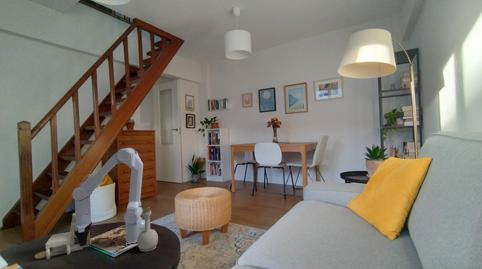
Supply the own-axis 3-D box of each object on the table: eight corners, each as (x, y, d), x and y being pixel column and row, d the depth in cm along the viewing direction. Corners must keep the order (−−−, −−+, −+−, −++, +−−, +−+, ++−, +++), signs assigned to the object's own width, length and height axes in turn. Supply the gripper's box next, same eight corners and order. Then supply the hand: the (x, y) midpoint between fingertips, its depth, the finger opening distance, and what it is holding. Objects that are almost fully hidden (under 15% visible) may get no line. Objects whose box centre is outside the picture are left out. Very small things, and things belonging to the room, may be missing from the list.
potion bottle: (151, 253, 95) (150, 210, 95) (132, 251, 97) (131, 209, 97) (162, 243, 104) (161, 204, 104) (145, 242, 106) (144, 203, 106)
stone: (89, 235, 116) (89, 212, 116) (79, 239, 111) (78, 216, 111) (77, 232, 120) (77, 210, 120) (67, 236, 116) (66, 213, 116)
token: (51, 252, 100) (51, 249, 100) (49, 257, 96) (48, 254, 96) (36, 255, 98) (36, 252, 98) (33, 261, 93) (33, 258, 93)
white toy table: (74, 244, 106) (73, 231, 106) (70, 254, 97) (69, 239, 97) (52, 249, 102) (52, 235, 102) (46, 259, 93) (45, 244, 93)
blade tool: (90, 243, 107) (89, 229, 107) (89, 247, 102) (88, 233, 102) (51, 251, 100) (51, 236, 100) (48, 256, 96) (48, 241, 96)
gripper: (75, 209, 108) (76, 238, 108) (69, 219, 95) (70, 251, 95) (92, 207, 112) (93, 234, 112) (89, 216, 99) (90, 247, 99)
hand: (84, 242), depth 104 cm, fingers open, 7 cm apart
